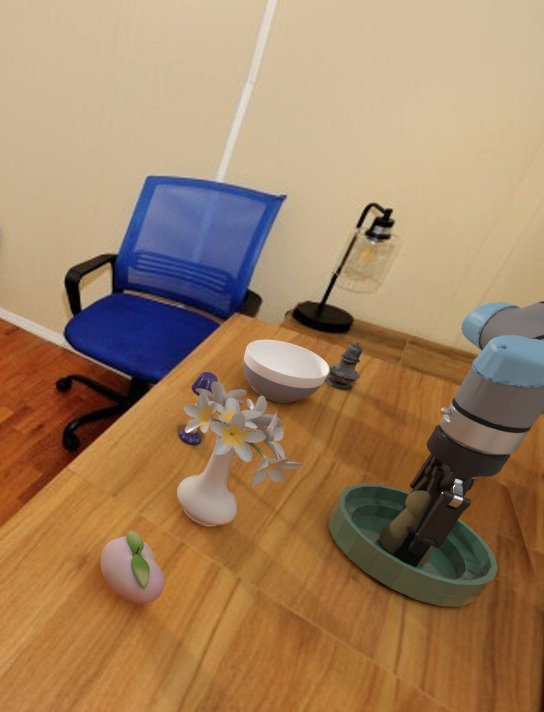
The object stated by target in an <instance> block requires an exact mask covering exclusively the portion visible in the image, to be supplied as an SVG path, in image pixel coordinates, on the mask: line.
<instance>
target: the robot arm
mask: <svg viewBox="0 0 544 712" xmlns="http://www.w3.org/2000/svg"><path fill="white" fill-rule="evenodd" d="M461 334H462V335H463V336H464V338H466V339H467V340H468V341H469V342H470V343H471V344H472V345H474V346H475V347H476V348H477V349H479V350H480V353H479V354H478V356H476V357H475V358H474V359H473V361H472V364H471V367H470V368H469V370H468V372H467V374H466V375H465V378H464V379H463V380H462V383H461V384H460V386H459V387H458V390H457V391H456V393H455V395H454V397H453V398H452V400H451V402H450V403H449V406H448V407H445V406H443V407H441V408H440V410H439V412H440V414H442V417H441V419H440V420H439V424H437V425H436V426H435V428H434V429H433V431H432V433H430V436H429V437H428V439H427V441H426V449H427V450H428V451H429V455H428V457H427V458H426V459H425V461H424V462H423V464H422V466H421V467H420V469H419V470H418V472H417V473H416V475H415V476H414V477H413V479H412V481H411V482H410V483H409V489H411V491H410V492H409V494H410V493H412V492H415V491H427V492H428V493H429V497H428V499H427V501H426V503H425V505H424V508H423V510H422V512H421V514H420V516H419V518H418V520H417V522H416V525H415V527H414V528H412V527H408V526H407V527H406V531H407V533H406V535H405V536H404V538H403V539H402V541H401V542H400V544H399V546H398V547H397V549H396V550H395V552H394V553H393V556H394V557H395V558H397V559H399V560H400V561H402V562H404V563H406V564H408V565H411V566H413V567H415V568H416V567H417V565H418V564H419V562H420V561H421V559H422V558H423V557H424V555H425V554H426V552H427V551H428V549H429V548H430V546H433V547H436V548H438V549H439V548H440V547H441V546H442V544H443V542H444V540H445V539H446V537H447V536H448V534H449V533H450V531H451V530H452V528H453V527H454V525H455V524H456V522H457V520H458V519H460V517H462V514H463V513H464V512H465V511H466V510H467V509H468V508H469V507H470V506H471V505H472V500H471V499H470V498H468V497H465V496H466V495H467V492H468V491H471V489H472V488H473V486H474V484H475V479H472V477H478V478H479V477H485V478H486V477H493V476H496V475H498V474H499V473H500V472H501V471H502V469H503V467H504V466H505V465H506V463H507V462H508V461H509V460H510V458H511V455H512V454H513V453H514V452H516V451H517V449H518V448H519V446H520V445H521V444H522V443H523V441H524V439H525V438H526V437H527V435H528V434H529V432H530V431H531V429H532V427H533V426H534V425H535V423H536V422H537V420H538V419H539V417H540V416H541V415H544V299H543V300H541V301H538V302H535V303H531V304H529V305H527V306H523V307H520V306H517V305H515V304H511V303H508V302H501V301H500V302H488V303H485V304H482V305H479V306H477V307H475V308H474V309H473V310H471V311H469V313H467V315H466V316H465V317H464V319H463V320H462V322H461ZM405 508H406V504H405V505H404V506H403V508H402V509H401V511H400V513H401V512H402V511H403V510H404V509H405ZM400 513H399V514H400ZM399 514H398V515H399Z"/></svg>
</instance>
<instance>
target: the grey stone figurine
mask: <svg viewBox="0 0 544 712" xmlns="http://www.w3.org/2000/svg"><path fill="white" fill-rule="evenodd" d="M363 351H364V349H363V347H362V346H361V345H360V343H359V341H357V342H355V343H350V344H348V345H347V346H346V349H345V351H344V352H343V353H342V354H341V355H340V360H339V363H338V364H330V365H328V366H329V374H328V375H329V376H327V377H326V379H325V381H324V382H325V383H326V384H327V385H328V386H331V387H332V388H335V389H338V390H341V391H351V390H352V389H353V384H352V383H354V382H356V381H357V380H358V379H359V378H360V377H361V375H360V373H359V372H358V371H357V370H356V367H357V365H358V364H359V363H360V362H361V360H360V358H361V355H362V353H363Z"/></svg>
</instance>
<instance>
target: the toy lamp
mask: <svg viewBox="0 0 544 712" xmlns="http://www.w3.org/2000/svg"><path fill="white" fill-rule="evenodd" d="M218 379H219V378H218V376H217V374H215V373H213V372H210V371H203V372H201V373H200V374H199V375H198V376H197V377H196V379H195V380H194V381H193V383H192V385H191V388H190V389H191V390H192V392H193V394H195V395H196V396H198V397H197V398H196V402H195V404H194V405H196V406H198V407H200V405H199V395H200V393H198V392H197V391H196V389H205V390H207V391H209V392H211V393H212V390H211V383H212V382H219V380H218ZM212 395H213V394H212ZM200 408H201V407H200ZM193 419H196V418H193V417H191V416H190V420H189V422H190V421H191V420H193ZM178 438H179V439H180V440H181V441H182V442H183V443H185V444H187V445H190V446H198V445H201V442H202V436H201V434H200V432H198V428H197V429H195V430H193V431H192V432H189V433H186V432H185V428H182V429H181V430H180V431H179V432H178Z"/></svg>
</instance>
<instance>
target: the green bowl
mask: <svg viewBox="0 0 544 712" xmlns="http://www.w3.org/2000/svg"><path fill="white" fill-rule="evenodd" d="M409 493H410V492H409V491H407V490H404V489H401V488H398V487H394V486H390V485H385V484H380V483H365V482H364V483H362V482H361V483H357V484H352V485H349V486H347V487H346V488H344V490H343V491H342V492H341V493H340V494H339V496H338V497H337V500H336V502H335V503H334V504H333V507H332V509H331V510H330V512H329V514H328V523H327V524H328V525H327V526H328V527H327V528H328V530H329V531H330V534H331V536H332V539H333V540H334V542H335V543H336V545H337V546H338V547H339V548H340V549H341V551H342V552H343V554H344V555H345V556H346V557H347V558H348V559H349V560H351V561H352V562H353V563H354V564H355V565H356V566H357V567H358V568H360V569H361V570H362V571H363V572H364V573H366V574H367V575H369V576H370V577H372V578H374V579H375V580H377V581H378V582H380V583H381V584H383V585H385V586H386V587H387V588H389V589H392V590H393V591H396V592H398V593H400V594H401V595H402V594H403V595H405V596H407V597H410V599H414V600H416V601H420V602H423V603H428V604H431V605H435V606H439V607H453V608H454V607H456V608H460V607H464V606H466V605H468V604H469V605H470V604H472V603H474V602H476V601H477V599H478V598H479V597H480V596H481V594H482V593H483V592H484V591H485V590H486V588H487V587H489V585H490V584H491V583H492V581H493V580H494V578H495V576H496V574H497V573H498V570H499V568H498V564H497V560H496V556H495V553H494V552H493V551H492V550H491V548H490V546H489V545H488V544H487V543H486V541H485V540H484V538H482V537H481V536H480V534H478V533H477V532H476V531H475V530H474V529H473V528H472V527H471V526H470V525H468V524H467V523H466V522H464V521H463V520H462V519H461V518H459V519H458V520H457V522H456V524H455V525H454V527H453V528H452V530H451V531H450V533H449V534H448V536H447V537H446V539H445V540H444V542H443V544H442V546H441V547H440V548H439V549H438V548H436V547H433V549H432V552H431V555H430V557H429V560H428V562H427V563H425V564H420V565H417V567H416V568H415V567H413V566H411V565H408V564H406V563H404V562H402V561H400V560H399V559H397V558H395V557H394V556H393V554H392V553H390V552H389V551H388V550H387V549H386V548H385V547H384V546H383V545H382V543H381V542H380V538H379V536H380V534H381V533H382V532H383V531H384V530H385V529H386V528H387V527H388V526H389V525H390V523H391V522H392V521H393V520H394V519H395V518H396V517H397V516H398V514H399V513H400V511H401V509H402V508H403V506H404V505H405V502H406V499H407V497H408V495H409Z"/></svg>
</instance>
